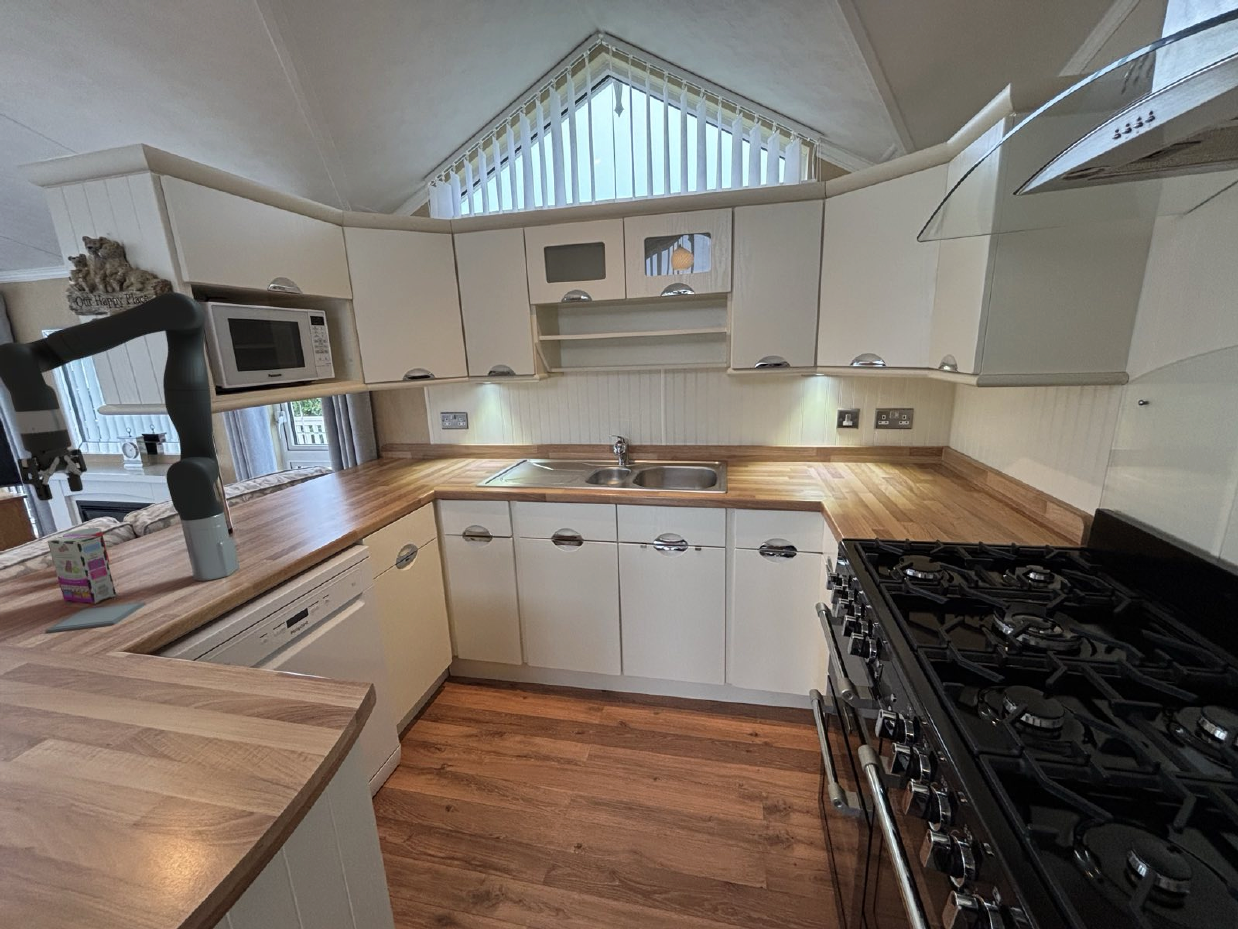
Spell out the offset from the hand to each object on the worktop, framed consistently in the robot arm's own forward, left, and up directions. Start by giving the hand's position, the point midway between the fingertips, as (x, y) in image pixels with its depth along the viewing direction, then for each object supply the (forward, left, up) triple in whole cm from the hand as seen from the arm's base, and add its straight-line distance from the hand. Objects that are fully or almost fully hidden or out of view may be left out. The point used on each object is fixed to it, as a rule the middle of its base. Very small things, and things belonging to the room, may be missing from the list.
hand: (62, 495), depth 121 cm
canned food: (+18, -26, -28) cm, 42 cm away
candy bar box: (0, 0, -28) cm, 28 cm away
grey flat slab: (-10, +13, -27) cm, 32 cm away
